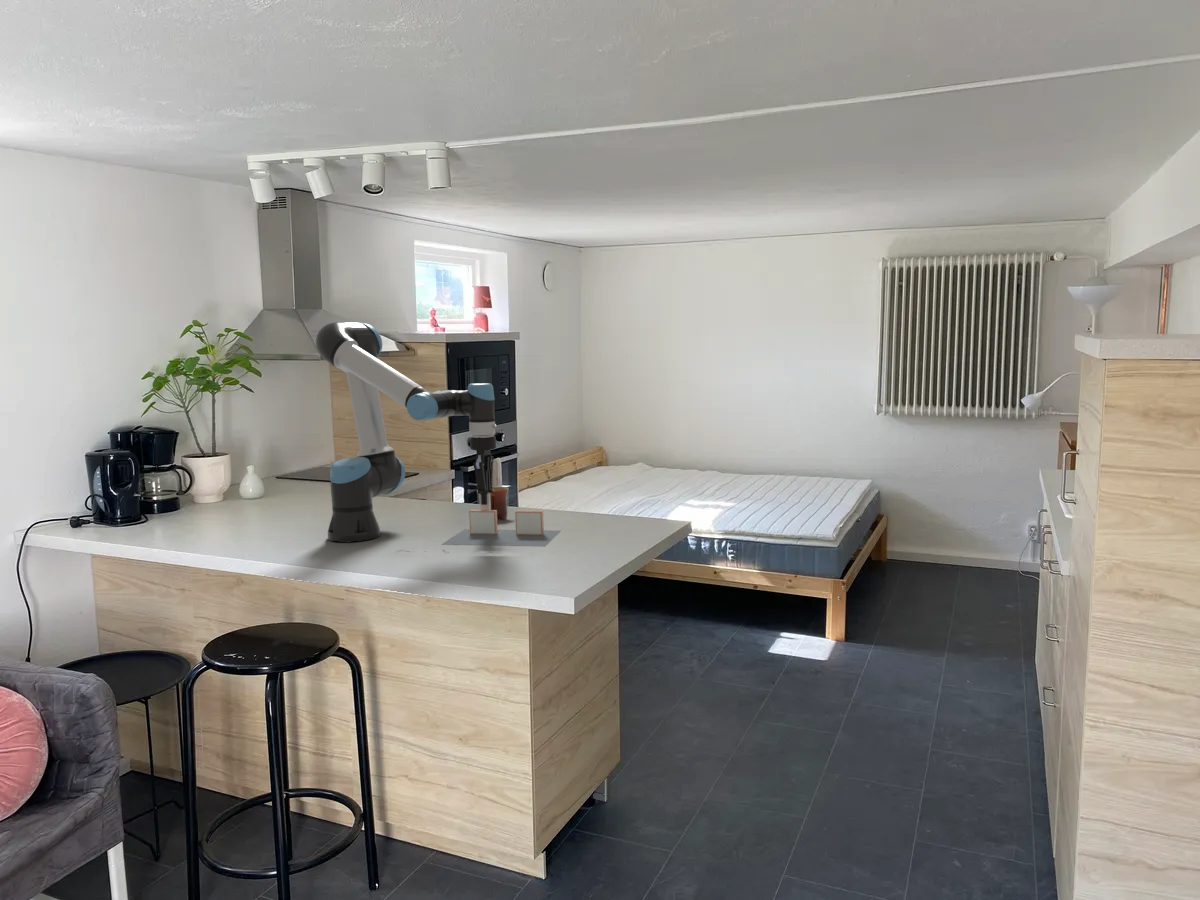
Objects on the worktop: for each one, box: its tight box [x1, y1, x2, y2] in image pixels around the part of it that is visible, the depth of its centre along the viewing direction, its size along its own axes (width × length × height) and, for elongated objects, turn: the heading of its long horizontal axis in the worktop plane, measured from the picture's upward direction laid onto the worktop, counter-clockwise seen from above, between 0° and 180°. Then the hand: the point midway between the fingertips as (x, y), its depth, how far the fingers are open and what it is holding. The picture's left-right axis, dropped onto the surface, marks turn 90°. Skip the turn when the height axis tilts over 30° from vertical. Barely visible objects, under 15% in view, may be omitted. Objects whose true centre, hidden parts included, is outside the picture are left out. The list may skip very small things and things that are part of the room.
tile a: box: [468, 509, 499, 535], centre depth 257 cm, size 8×2×7 cm, turn 80°
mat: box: [441, 528, 561, 547], centre depth 252 cm, size 30×20×1 cm, turn 80°
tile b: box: [514, 509, 545, 535], centre depth 255 cm, size 8×2×7 cm, turn 80°
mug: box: [489, 486, 509, 521], centre depth 281 cm, size 12×9×10 cm
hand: (485, 514), depth 260 cm, fingers closed
